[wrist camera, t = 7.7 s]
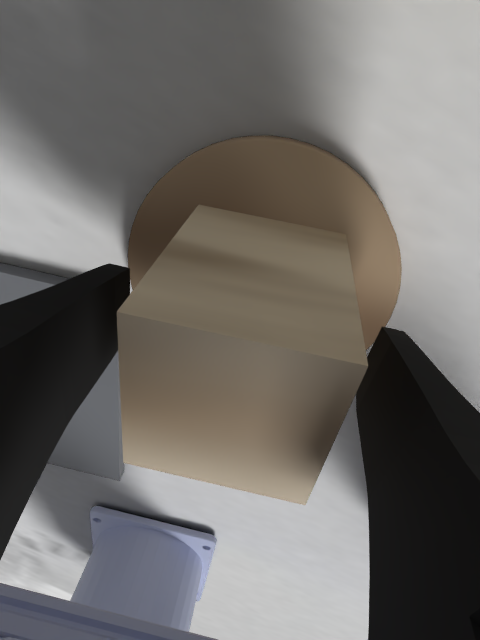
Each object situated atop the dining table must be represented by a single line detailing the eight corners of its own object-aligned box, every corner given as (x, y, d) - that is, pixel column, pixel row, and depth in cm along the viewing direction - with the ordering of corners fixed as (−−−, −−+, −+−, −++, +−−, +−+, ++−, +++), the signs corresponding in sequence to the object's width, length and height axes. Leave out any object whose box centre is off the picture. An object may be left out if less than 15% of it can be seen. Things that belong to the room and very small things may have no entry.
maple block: (308, 349, 14) (305, 505, 9) (188, 323, 14) (122, 462, 10) (346, 234, 12) (367, 365, 7) (198, 204, 12) (116, 312, 7)
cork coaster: (345, 393, 16) (346, 408, 16) (135, 344, 17) (127, 356, 16) (448, 172, 11) (457, 180, 10) (138, 105, 11) (128, 108, 11)
